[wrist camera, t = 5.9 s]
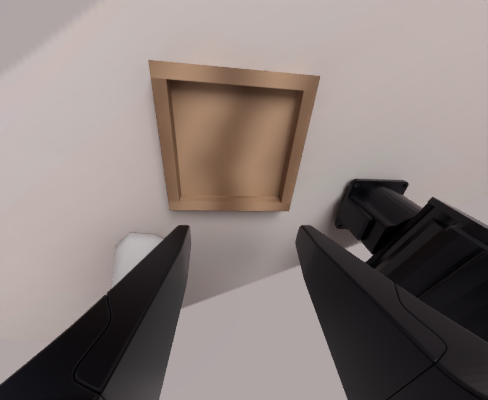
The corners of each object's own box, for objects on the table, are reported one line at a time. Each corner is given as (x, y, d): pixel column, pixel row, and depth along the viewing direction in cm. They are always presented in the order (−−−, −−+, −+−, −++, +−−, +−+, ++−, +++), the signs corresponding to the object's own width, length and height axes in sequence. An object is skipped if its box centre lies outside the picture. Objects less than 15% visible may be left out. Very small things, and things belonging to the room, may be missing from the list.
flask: (166, 278, 27) (141, 368, 19) (109, 263, 25) (52, 358, 17) (186, 243, 24) (167, 330, 16) (124, 222, 22) (63, 312, 14)
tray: (310, 76, 16) (320, 76, 15) (283, 201, 22) (288, 211, 21) (156, 62, 15) (148, 60, 13) (173, 199, 21) (169, 209, 19)
